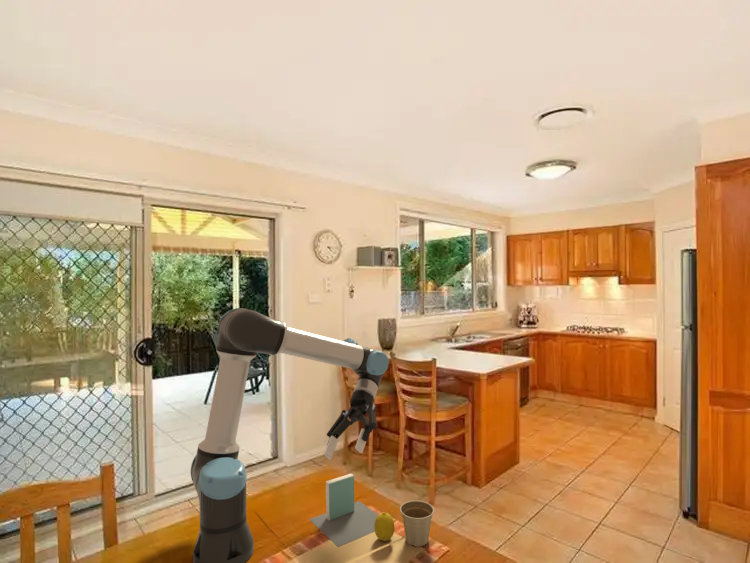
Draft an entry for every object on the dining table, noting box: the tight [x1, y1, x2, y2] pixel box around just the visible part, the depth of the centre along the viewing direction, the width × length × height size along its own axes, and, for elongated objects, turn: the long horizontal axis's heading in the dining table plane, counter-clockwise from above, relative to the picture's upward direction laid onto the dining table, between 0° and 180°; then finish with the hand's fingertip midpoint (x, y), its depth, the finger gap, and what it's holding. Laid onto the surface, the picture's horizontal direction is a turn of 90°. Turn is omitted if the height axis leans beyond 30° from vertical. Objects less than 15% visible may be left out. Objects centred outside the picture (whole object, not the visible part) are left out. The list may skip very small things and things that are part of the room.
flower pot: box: [399, 500, 435, 547], centre depth 120 cm, size 9×9×9 cm
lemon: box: [374, 511, 395, 542], centre depth 120 cm, size 6×6×8 cm
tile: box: [325, 473, 355, 520], centre depth 133 cm, size 9×2×11 cm, turn 126°
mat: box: [308, 500, 379, 548], centre depth 129 cm, size 18×17×1 cm
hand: (342, 454), depth 130 cm, fingers open, 13 cm apart
